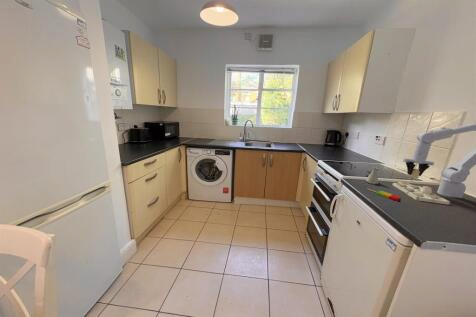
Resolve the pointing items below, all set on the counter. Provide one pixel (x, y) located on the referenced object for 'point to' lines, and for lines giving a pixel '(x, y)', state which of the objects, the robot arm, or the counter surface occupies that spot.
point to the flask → (373, 176)
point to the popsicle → (387, 195)
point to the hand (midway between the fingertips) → (413, 175)
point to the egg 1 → (415, 173)
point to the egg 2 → (426, 190)
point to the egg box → (420, 194)
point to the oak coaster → (404, 183)
